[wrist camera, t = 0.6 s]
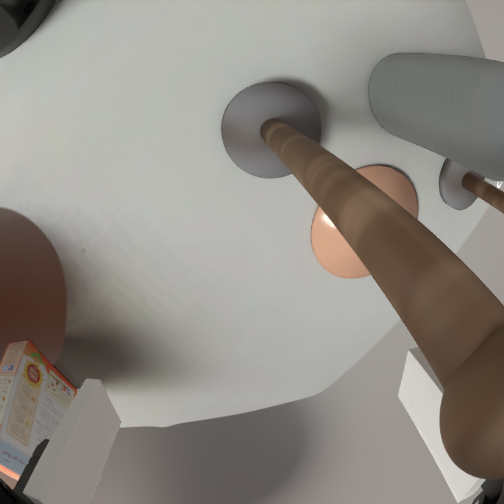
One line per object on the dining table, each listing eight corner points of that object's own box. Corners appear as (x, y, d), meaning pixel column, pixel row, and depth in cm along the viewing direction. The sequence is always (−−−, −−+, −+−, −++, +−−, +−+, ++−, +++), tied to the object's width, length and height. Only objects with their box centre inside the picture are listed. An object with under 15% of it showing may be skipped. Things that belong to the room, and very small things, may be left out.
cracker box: (7, 341, 33) (-29, 454, 16) (30, 337, 34) (-5, 461, 16) (55, 392, 41) (40, 493, 24) (78, 390, 41) (66, 498, 24)
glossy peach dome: (309, 171, 29) (311, 173, 29) (421, 161, 31) (424, 163, 31) (310, 286, 38) (311, 289, 37) (405, 263, 39) (407, 265, 39)
